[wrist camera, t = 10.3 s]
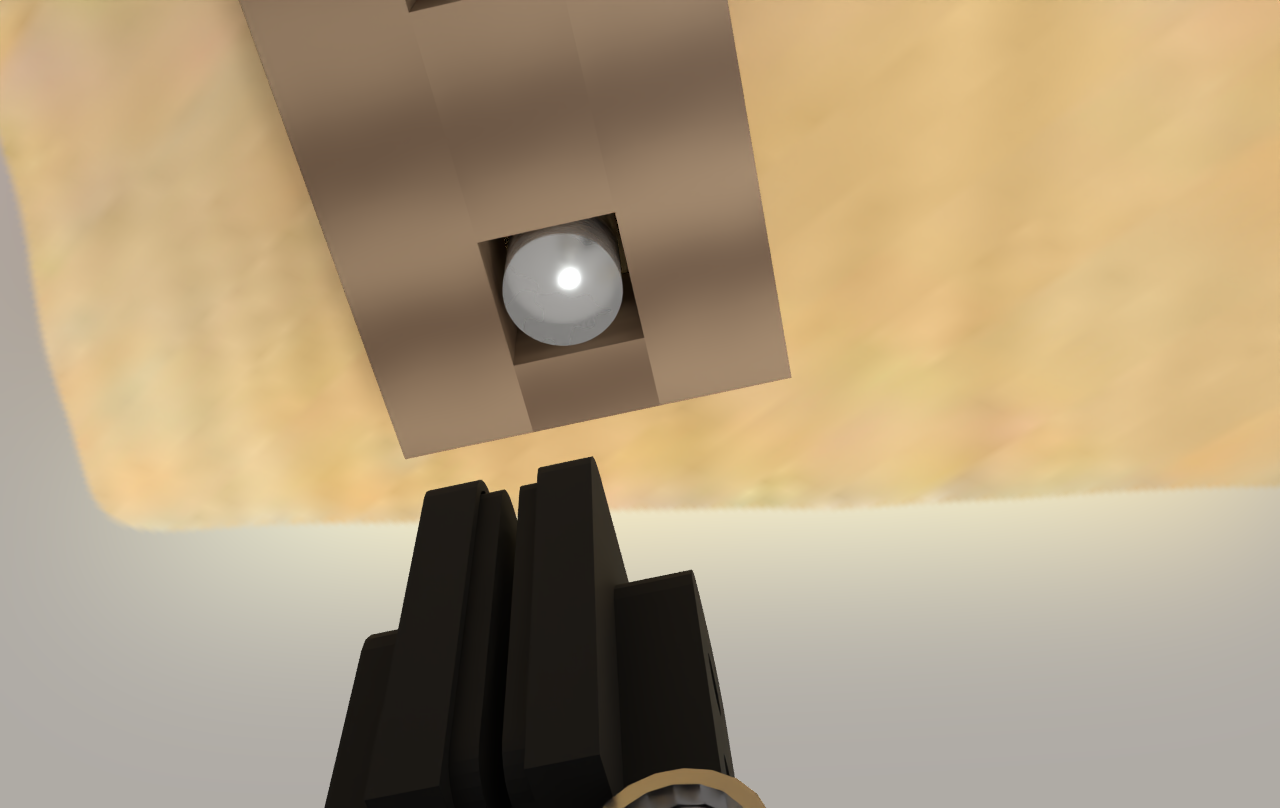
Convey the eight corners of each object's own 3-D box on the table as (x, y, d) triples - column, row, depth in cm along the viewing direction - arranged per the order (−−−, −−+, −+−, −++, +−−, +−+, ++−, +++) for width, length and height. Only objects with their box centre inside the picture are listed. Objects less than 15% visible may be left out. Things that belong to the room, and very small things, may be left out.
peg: (497, 194, 44) (488, 249, 39) (603, 171, 43) (607, 223, 39) (525, 292, 45) (519, 356, 41) (627, 270, 45) (634, 332, 40)
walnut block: (216, -226, 37) (158, -223, 32) (654, -333, 36) (668, -350, 31) (423, 381, 48) (405, 459, 42) (766, 308, 47) (791, 377, 42)
